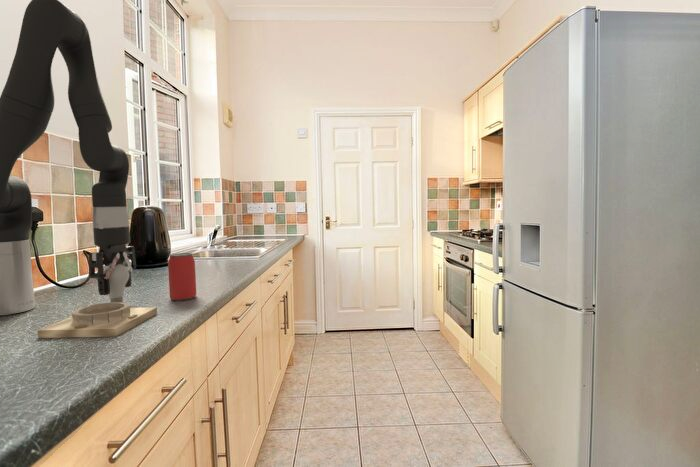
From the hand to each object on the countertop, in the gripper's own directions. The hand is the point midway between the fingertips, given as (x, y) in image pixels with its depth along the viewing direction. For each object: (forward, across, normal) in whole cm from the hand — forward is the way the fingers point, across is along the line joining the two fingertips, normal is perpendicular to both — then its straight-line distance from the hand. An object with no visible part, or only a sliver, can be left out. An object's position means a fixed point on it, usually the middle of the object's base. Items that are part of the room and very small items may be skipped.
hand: (116, 290), depth 92 cm
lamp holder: (+4, +14, +6) cm, 16 cm away
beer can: (+4, -8, +13) cm, 16 cm away
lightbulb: (+4, 0, 0) cm, 4 cm away
